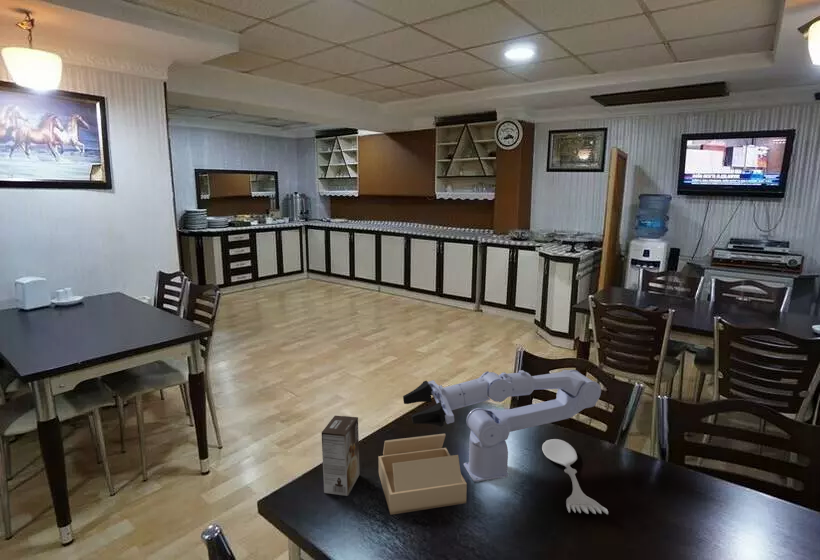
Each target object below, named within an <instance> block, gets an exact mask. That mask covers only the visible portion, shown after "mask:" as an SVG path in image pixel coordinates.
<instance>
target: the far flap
mask: <svg viewBox="0 0 820 560" xmlns="http://www.w3.org/2000/svg"><path fill="white" fill-rule="evenodd" d="M445 439H446V433H439V434H438V433H437V434H429V435H420V436H412V437H406V438H405V437H404V438H396V439H388V440H384V444H383V451H382V454H383V455H382V456H385V455H393V454H401V453H409V452H417V451H425V450H433V449H441V448H443V445H444V442H445Z"/></svg>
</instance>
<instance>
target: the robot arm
mask: <svg viewBox="0 0 820 560" xmlns="http://www.w3.org/2000/svg"><path fill="white" fill-rule="evenodd" d="M534 390H535V391H536V390H557V391H556V398H555V399H550V400H547V401H541V402H538V403H537V402H536V403H532V404H528V405H523V406H517V407H514V408H509V409H504V410H500V409H497V408H482V407H477V408H476V407H475V408H473V409H472V410H470V412H469V413H468V414H467V416H466V418H465V419H466V426H467V427H468V428H469V429H470V434H469V444H468V445H469V446H468V447H469V449H468V450H469V451H468V462H464V463H463V467H464V469H465V470H466V471H467V473H468V475H469V476H470V478H471V480H472V482H483V481H490V480H497V479H503V478H508V477H509V473H508V466H509V465H508V463H509V451H508V450H509V449H508V444H507V442H506V441H507V440H508V439H509V437H510V432H511V433H512V432H515V431H519V430H525V429H529V428H533V427H537V426H541V425H546V424H550V423H555V422H559V421H563V420H564V421H565V420H568V419H571V418H573V417H574V416H575V415H577V414H578V413H580V412H581V411H583V410H584V409H589V408H593V407H595V405H596V404H597V402H598V400H599V399H600V397H601V395H602V394H601V393H602V387H601V385H600V384H599V382H597V381H595V380H592V379H590V378H589V377H587V376H585V375H584V374H582V373H581V372H580V371H578V370H576V369H563V370H561V371H559V372H557V371H556V372H552V373H545V374H537V375H531V374H530V372H527V371H524V370H523V369H522V370H521V369H520V370H518V372H511V373H507V372H505V371H504V372H501V373H500V374H497V372H494V371H492V372H491V371H488V370H487V371H485V372H483V373H482V374H481V375H480V376H479V377H478V378H474V379H471V380H466V381H463V382H459V383H456V384H452V385H448V386H445V387H443V386H442V385H439V384H437V382H436V381H435V380H428V381H427V380H423V382H422V383H421V384H420V385H419V386H417V387H416V388H415V389H413V390H412V391H410V392H408V393H406V394H404V395H403V396H402V399H403V404H404V405H409V404H410V405H411V404H414V403H415V404H416V403H423V402H424V403H433V402H432V401H433V399H434V400H435V403H436V404H435V405H433V406H431V407H429V408H427V409H425V410H422V411H419V412H416V413H413V414H412V415H411V422H412V424H413V425H421V424H422V425H423V424H424V425H435V426H438V427H440V428H442V427H444V425H445V424H444V423H446V425H449V424H452V423H455V414H454V413H453V411H454V410H457V409H458V410H459V409H461V408H465V407H469V406H472V405H475V404H479V403H483V402H486V401H490V400H491V401H494V402H496V403H497V402H498V403H501V402H504V401H505V400H506V399H508V398H510V397H521V396H530V395H531V394H532V393H533V392H534ZM432 397H433V399H432Z"/></svg>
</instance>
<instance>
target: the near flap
mask: <svg viewBox="0 0 820 560" xmlns="http://www.w3.org/2000/svg"><path fill="white" fill-rule="evenodd" d="M392 465H393V475H394V486H395V492H400V491H407V490H414V489H420V488H427V487H434V486H441V485H448V484H455V483H462V479H461V475H462V473H461V466H460V458H459V454H455V455H454V454H452V455H450V456H445V457H437V458H430V459H422V460H414V461H406V462H399V463H392Z"/></svg>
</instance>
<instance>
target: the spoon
mask: <svg viewBox="0 0 820 560" xmlns="http://www.w3.org/2000/svg"><path fill="white" fill-rule="evenodd" d="M541 449H542V452H543V454H544V456H545V457H546V458H547V459H548V460H549V461H552V462H554V463H556V464H559V465H560V466H564V467H565V469H564V470H563V471H564V473H565V474H567V475H569V477H570V479H571V482H572V492H571V494H570V495H569V496H568V497H567V498H566V501H565V504H566V505H565V506H566V510H567V511H568V513H569V514H570V513H571V510H572V512H574V514H576V512H578V513H579V514H582V512H584V513H585V514H587V515H589V513H590V512H591V513H592V514H594V515H597V513H598V514H600V515H602V514H603V513H604V514H606V515H607V516H608V515H609V511H608V509H607V508H606V507H604V506H603V505H601V504H600V503H599V502H597V500H595V499H593V498H591V497H589V496H587V495H586V494H585V493H584V492H583V490H582V488H581V486H580V484H579V481H578V479H577V477H576V474H577V473H578V471H577V469H576V468H572V467H571V465H573V464H574V463H575V462H576V461H577V460H578V455H577V451H576V449H575V448H574V446H572V445H571V444H570V443H569V442H567V441H565V440H563V439H560V438H559V439H558V438H553V439H552V438H551V439H547V440H545V442H543V443H542V446H541ZM602 512H603V513H602Z"/></svg>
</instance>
